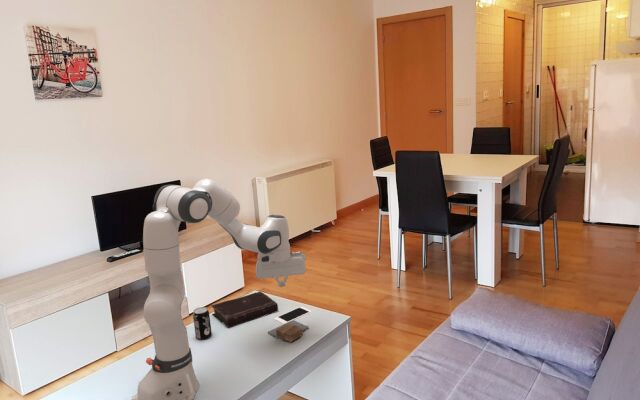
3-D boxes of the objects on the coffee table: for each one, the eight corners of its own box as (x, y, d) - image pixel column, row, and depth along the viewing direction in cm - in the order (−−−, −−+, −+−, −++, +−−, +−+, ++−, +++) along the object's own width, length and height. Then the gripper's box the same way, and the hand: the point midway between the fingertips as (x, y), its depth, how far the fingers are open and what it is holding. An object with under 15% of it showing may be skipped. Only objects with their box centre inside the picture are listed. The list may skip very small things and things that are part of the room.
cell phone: (273, 319, 226) (273, 318, 226) (301, 307, 236) (301, 306, 236) (284, 325, 220) (284, 323, 220) (312, 312, 230) (312, 310, 230)
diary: (278, 312, 233) (277, 302, 232) (228, 330, 220) (226, 319, 219) (259, 299, 248) (258, 289, 247) (211, 314, 235) (210, 304, 234)
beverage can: (213, 332, 217) (210, 306, 214) (209, 340, 211) (205, 313, 208) (198, 332, 218) (195, 306, 215) (193, 340, 211) (190, 313, 209)
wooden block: (302, 328, 207) (288, 322, 213) (290, 335, 202) (275, 329, 208) (302, 334, 208) (288, 329, 213) (290, 342, 203) (276, 336, 208)
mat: (282, 341, 206) (282, 339, 205) (267, 333, 213) (267, 331, 213) (308, 328, 215) (308, 326, 214) (293, 321, 222) (293, 319, 222)
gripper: (304, 248, 210) (306, 280, 213) (254, 253, 207) (256, 285, 210) (306, 253, 204) (308, 286, 207) (254, 259, 201) (257, 291, 204)
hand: (282, 286), depth 208 cm, fingers closed
